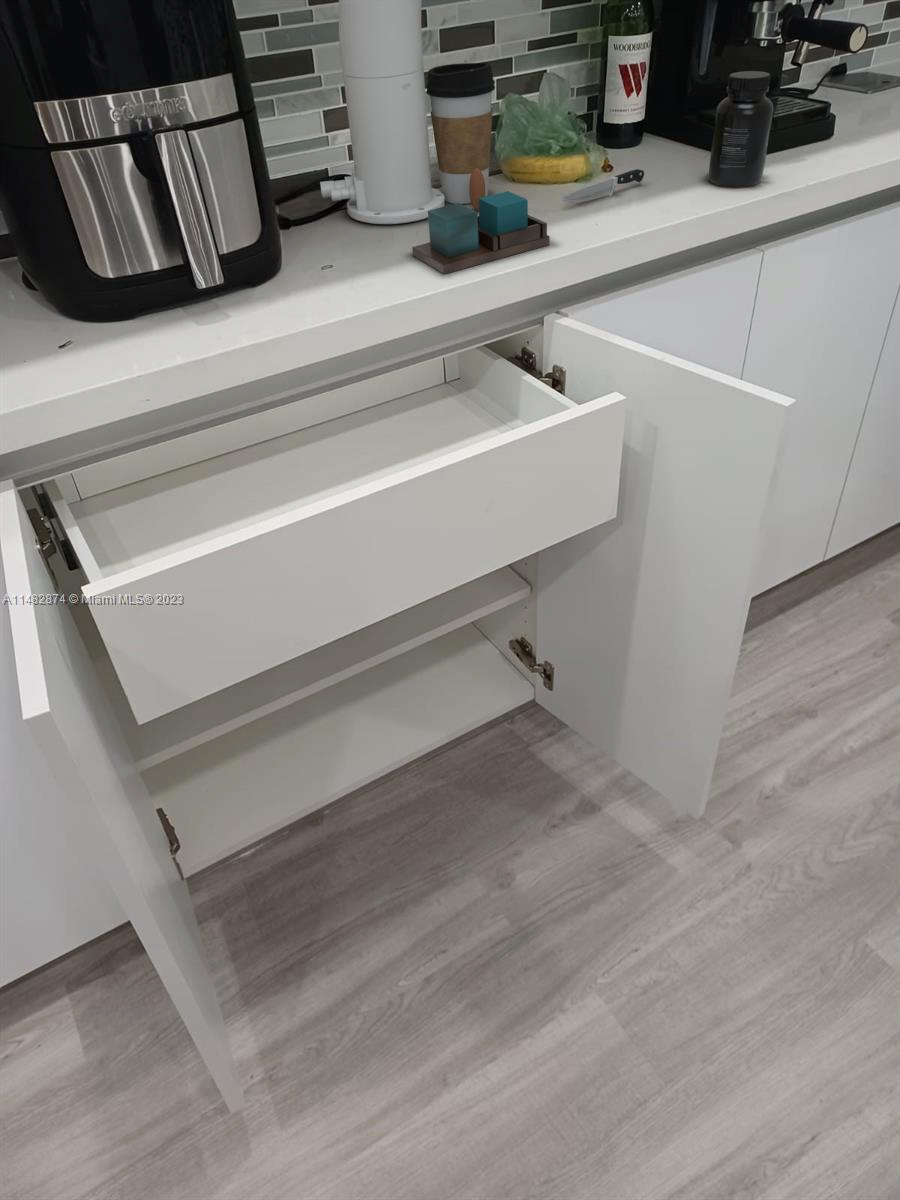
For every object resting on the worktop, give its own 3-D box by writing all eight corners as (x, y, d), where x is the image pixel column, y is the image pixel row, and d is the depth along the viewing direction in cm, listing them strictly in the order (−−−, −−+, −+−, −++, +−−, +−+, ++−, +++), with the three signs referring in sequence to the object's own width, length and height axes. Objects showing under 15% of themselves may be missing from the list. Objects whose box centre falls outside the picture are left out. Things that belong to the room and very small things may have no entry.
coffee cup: (472, 211, 110) (467, 74, 100) (420, 201, 114) (410, 69, 104) (509, 192, 115) (508, 60, 105) (458, 183, 119) (452, 56, 109)
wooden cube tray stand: (444, 274, 94) (441, 227, 91) (412, 255, 99) (408, 209, 96) (549, 244, 99) (550, 198, 96) (514, 228, 104) (514, 184, 101)
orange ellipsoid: (468, 213, 109) (466, 170, 106) (472, 208, 111) (470, 165, 107) (484, 213, 109) (482, 170, 105) (487, 208, 110) (486, 165, 107)
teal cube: (498, 244, 98) (497, 207, 95) (479, 234, 100) (478, 198, 98) (527, 236, 99) (527, 199, 96) (508, 227, 102) (508, 190, 99)
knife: (561, 212, 107) (561, 195, 106) (557, 211, 108) (557, 194, 107) (643, 184, 114) (644, 168, 112) (639, 183, 114) (640, 167, 113)
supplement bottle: (773, 181, 112) (792, 74, 104) (733, 191, 109) (749, 83, 101) (735, 169, 116) (750, 66, 108) (696, 179, 114) (708, 74, 106)
